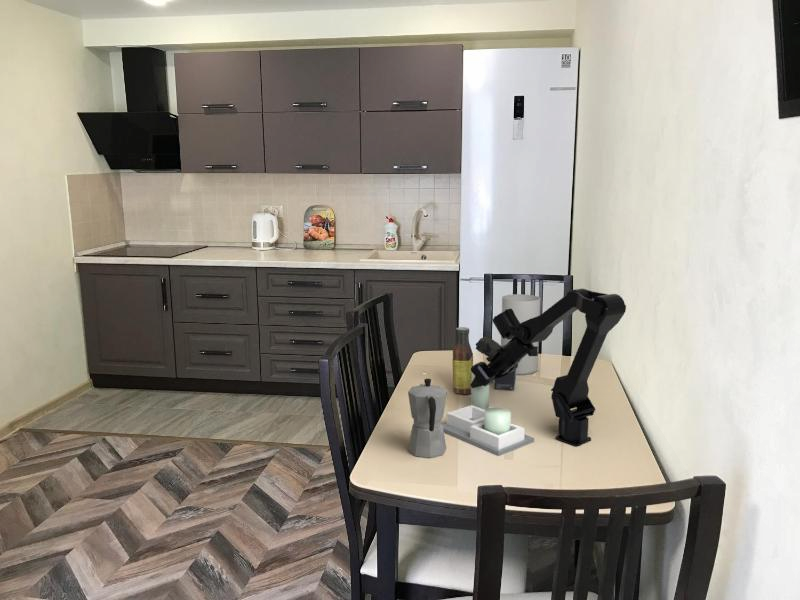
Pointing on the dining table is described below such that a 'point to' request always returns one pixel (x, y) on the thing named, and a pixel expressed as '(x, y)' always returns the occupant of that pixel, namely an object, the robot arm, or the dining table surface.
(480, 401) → the pale green rounded block
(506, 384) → the small box
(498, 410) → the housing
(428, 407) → the coffeepot
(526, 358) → the cylinder vase
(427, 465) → the dining table surface
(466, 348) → the sauce bottle
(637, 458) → the dining table surface
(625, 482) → the dining table surface
